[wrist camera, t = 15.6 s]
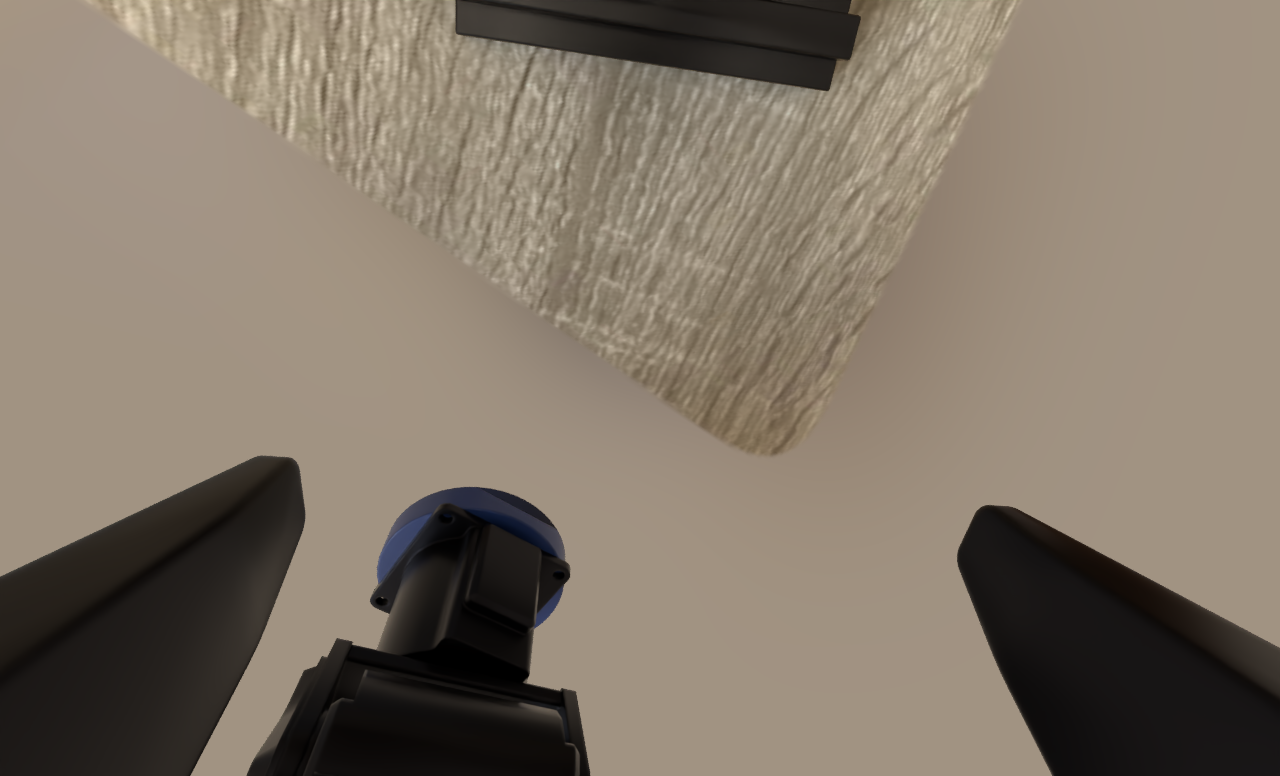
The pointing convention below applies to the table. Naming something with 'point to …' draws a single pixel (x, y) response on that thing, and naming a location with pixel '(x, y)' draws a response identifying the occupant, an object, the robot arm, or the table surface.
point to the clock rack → (681, 33)
